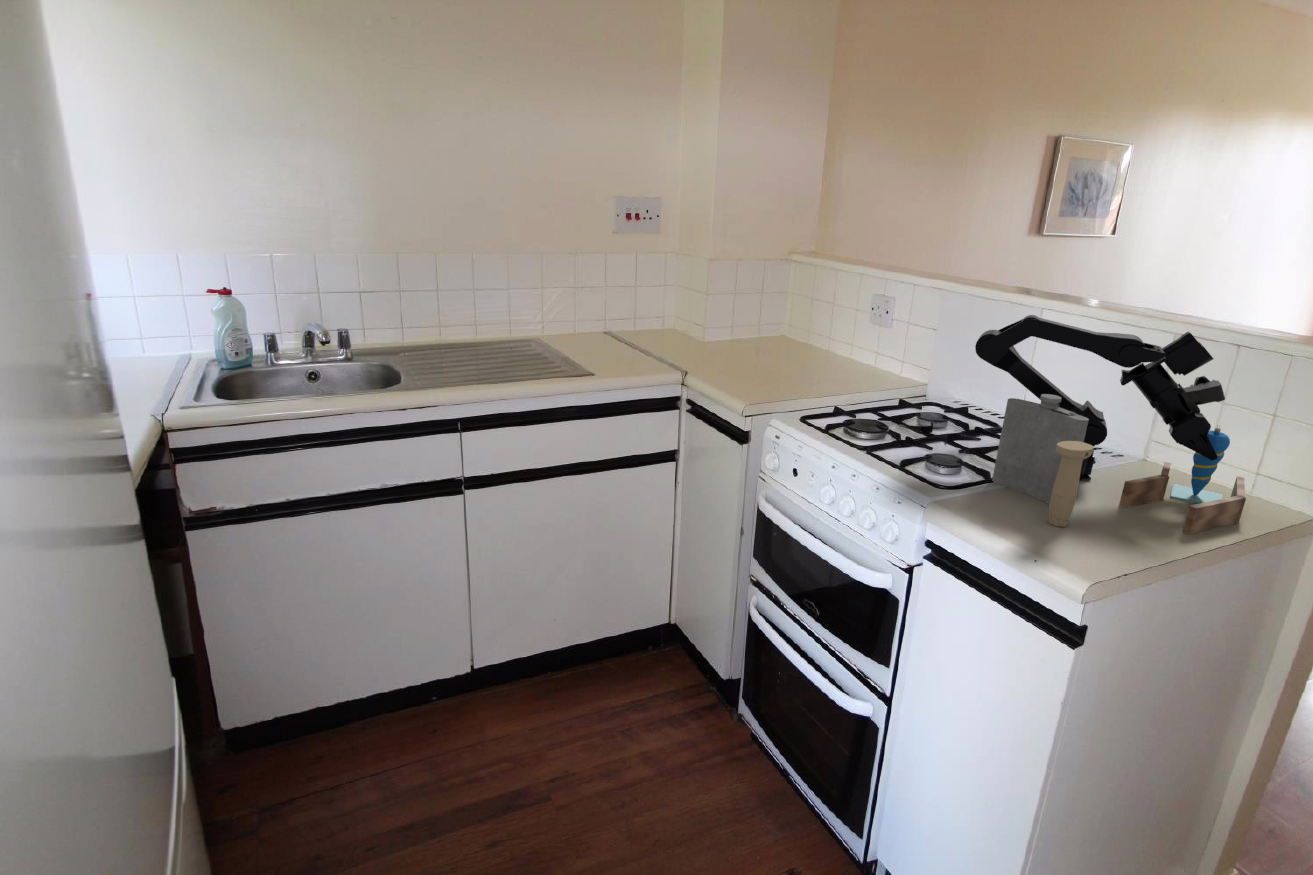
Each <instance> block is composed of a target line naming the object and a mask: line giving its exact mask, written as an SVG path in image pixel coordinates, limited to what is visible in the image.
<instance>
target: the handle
mask: <svg viewBox="0 0 1313 875" xmlns="http://www.w3.org/2000/svg"><path fill="white" fill-rule="evenodd" d="M1093 450H1095V446H1092V445H1090V444H1087V443H1084V442H1079V441H1062V442H1059V443H1057V445H1056V452H1057V453H1058V454H1060V455H1061V456H1062V458H1061V463H1060V466H1059V470H1058V473H1057V477H1056V480H1055V483H1054V487H1053V490H1052V494H1051V499H1050V504H1049V506H1048V507H1049V508H1048V514H1049V516H1048V524H1050V525H1053V526H1054V527H1061V528H1065V527H1067V525H1068V523H1069V519H1070V518H1071V516H1072V513H1073V511H1074V507H1075V504H1076V500H1077V496H1078V490H1079V482H1080V479H1079V478H1080V472H1081V466H1082V462H1083V459H1086V458H1088V457H1089V456H1091V454H1092V453H1093ZM1093 454H1094V453H1093Z"/></svg>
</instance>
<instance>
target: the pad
mask: <svg viewBox="0 0 1313 875" xmlns="http://www.w3.org/2000/svg"><path fill="white" fill-rule="evenodd" d="M1169 498H1170V499H1175V500H1179V501H1184V502H1187V503H1193V504H1200V503H1205V502H1210V501H1214V500H1219V499H1223V493H1218V492H1212V491H1208V490H1204V489H1202V490H1201V491H1200V493H1199V494H1198V495H1194V494H1193V490H1192V487H1189V486H1185V485H1179V484H1176V483H1175V484H1174V483H1173V484H1172V487H1171V492H1170V497H1169Z"/></svg>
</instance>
